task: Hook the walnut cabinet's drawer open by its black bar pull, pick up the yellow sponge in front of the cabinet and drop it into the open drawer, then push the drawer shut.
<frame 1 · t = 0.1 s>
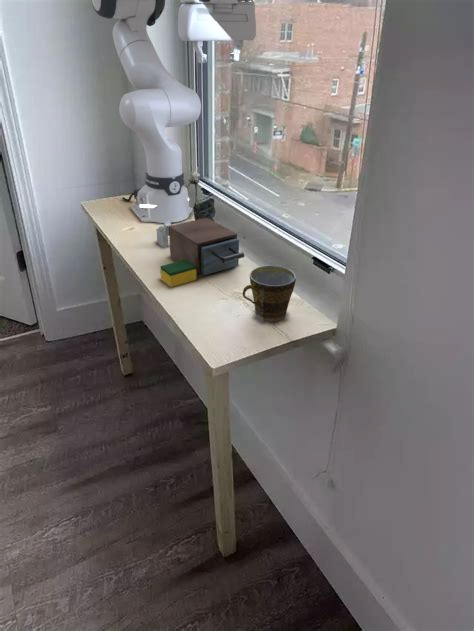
hand: (218, 62, 123), 48 cm above the table, tool pointing down, fingers open, 8 cm apart
drawer: (213, 252, 132), point 5 cm above the table, slide at 0.5 cm
sponge: (178, 279, 129), on the table
lighter: (165, 246, 147), on the table
plant with pod: (199, 235, 155), on the table
ceramic cup: (265, 318, 113), on the table
cabinet: (203, 261, 138), on the table
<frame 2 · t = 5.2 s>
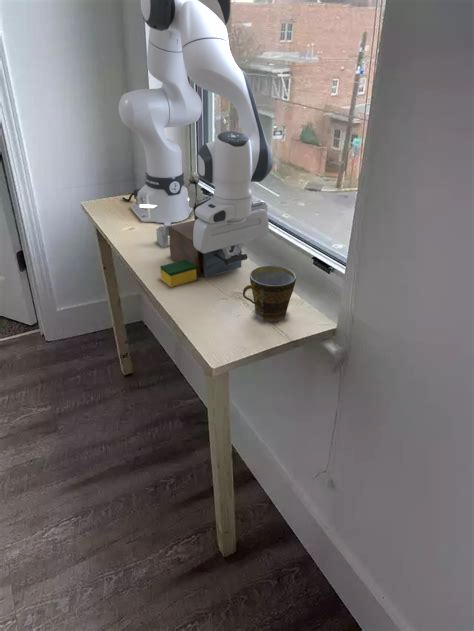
hand: (232, 260, 126), 5 cm above the table, tool pointing down, fingers closed, pressing on drawer
drawer: (215, 253, 132), point 5 cm above the table, slide at 1.8 cm, touching gripper
everything else where it was.
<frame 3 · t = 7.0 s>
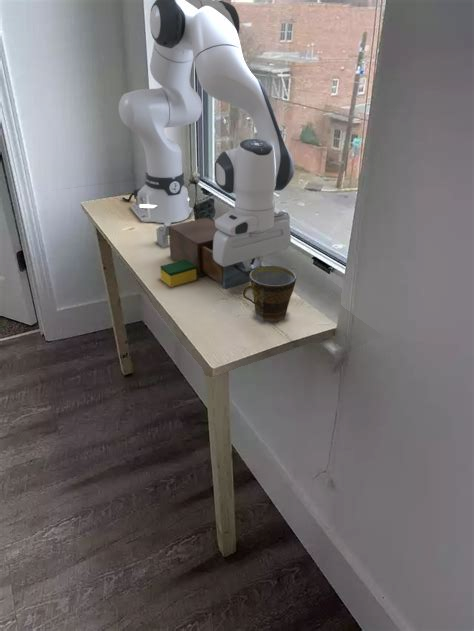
hand: (252, 273, 120), 5 cm above the table, tool pointing down, fingers closed
drawer: (234, 265, 126), point 5 cm above the table, slide at 10.1 cm
everything else where it was.
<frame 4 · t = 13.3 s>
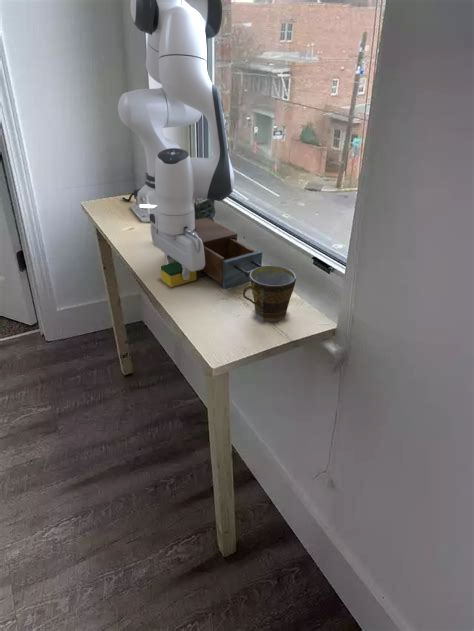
hand: (178, 273, 128), 2 cm above the table, tool pointing down, fingers closed on sponge, 5 cm apart
sponge: (178, 279, 129), on the table, touching gripper
everything else where it was.
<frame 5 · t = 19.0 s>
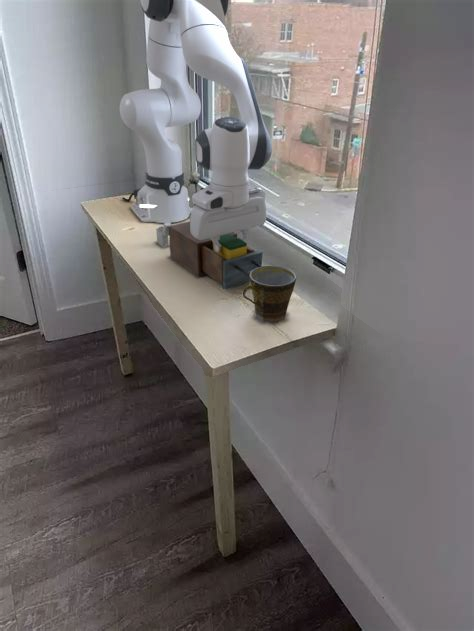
hand: (229, 248, 125), 8 cm above the table, tool pointing down, fingers closed on sponge, 5 cm apart
sponge: (229, 254, 126), point 7 cm above the table, touching gripper
everything else where it was.
when the fingers open (9 cm above the table, at t = 28.7 s): sponge drops 5 cm, resting on drawer.
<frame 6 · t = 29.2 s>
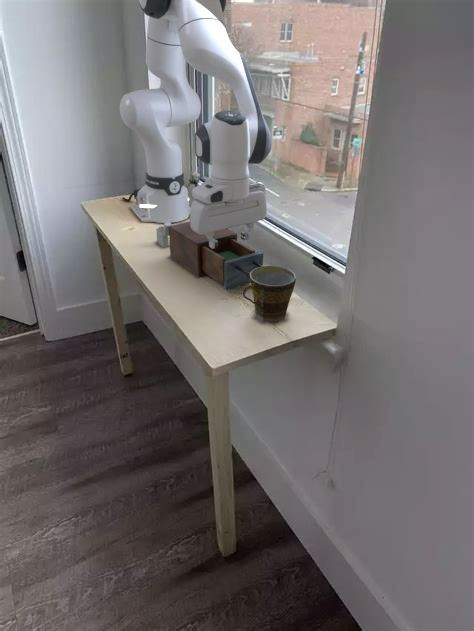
hand: (229, 243, 125), 10 cm above the table, tool pointing down, fingers open, 8 cm apart
drawer: (235, 265, 125), point 5 cm above the table, slide at 10.6 cm, touching sponge
sponge: (229, 271, 129), point 2 cm above the table, touching drawer
everything else where it was.
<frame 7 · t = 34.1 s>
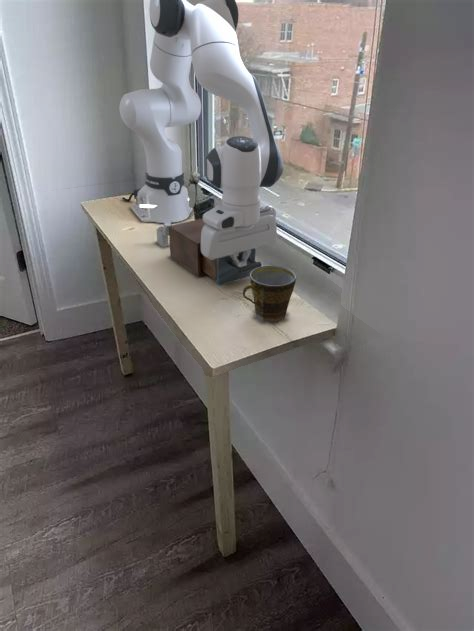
hand: (239, 266, 124), 5 cm above the table, tool pointing down, fingers closed, pressing on drawer
drawer: (228, 261, 128), point 5 cm above the table, slide at 7.4 cm, touching gripper, sponge
sponge: (222, 266, 131), point 2 cm above the table, touching drawer
everything else where it was.
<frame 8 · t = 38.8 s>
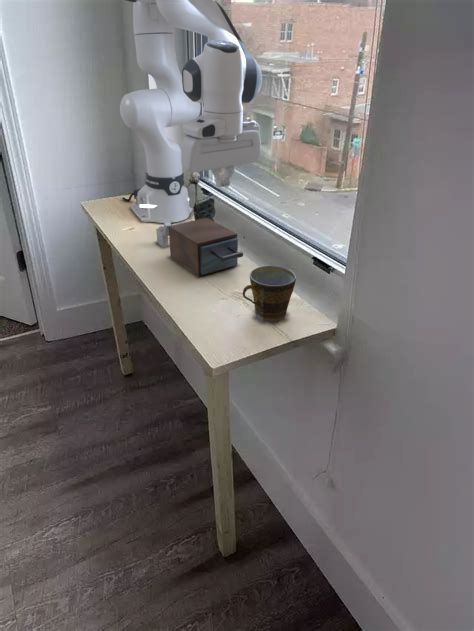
hand: (222, 185, 120), 23 cm above the table, tool pointing down, fingers closed
drawer: (212, 251, 133), point 5 cm above the table, slide at 0.0 cm, touching sponge
sponge: (206, 257, 136), point 2 cm above the table, touching drawer
everything else where it was.
at the end: drawer pulled out 10.7 cm at the most during the clip, back to where it started at the end; sponge inside the target area in the cabinet (1.4 cm from its centre), point 2.0 cm above the cabinet's base; drawer slide at 0.0 cm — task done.
